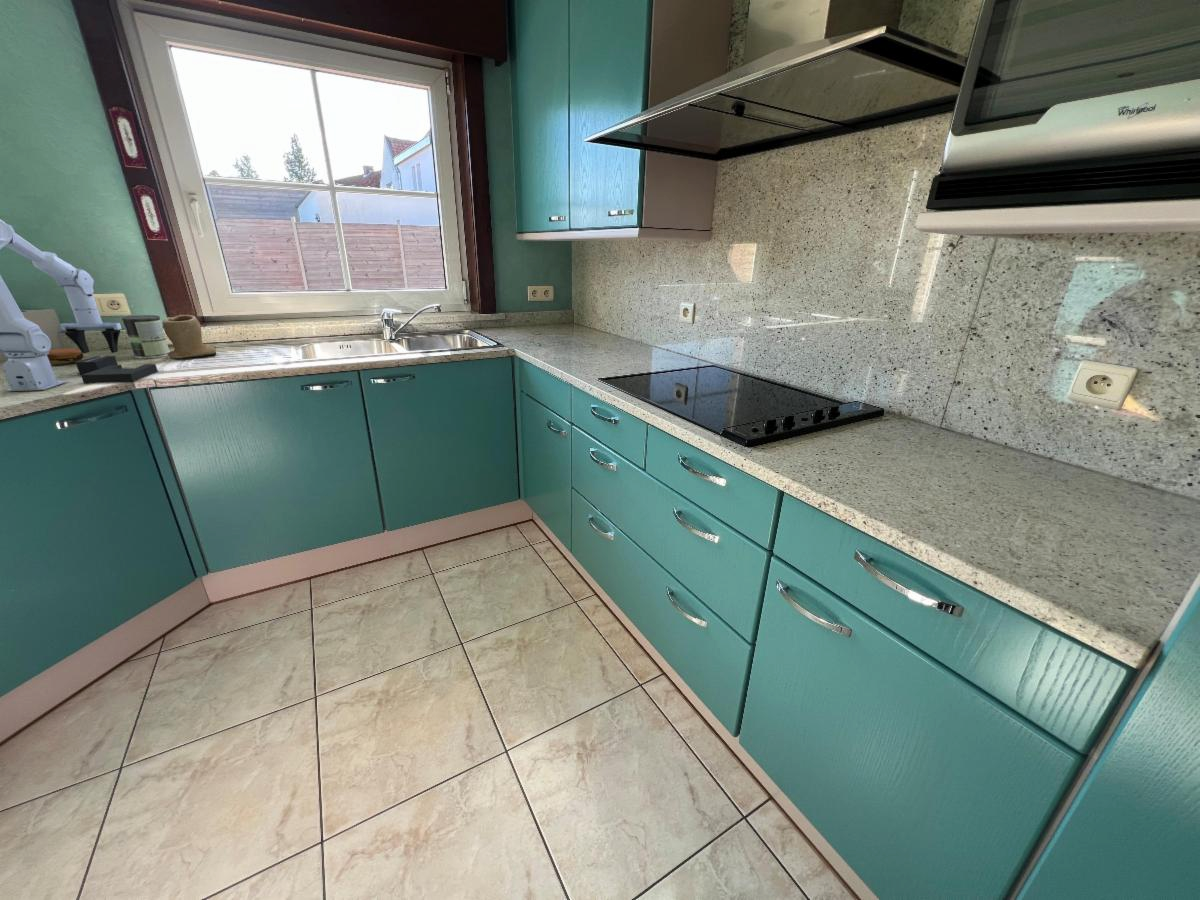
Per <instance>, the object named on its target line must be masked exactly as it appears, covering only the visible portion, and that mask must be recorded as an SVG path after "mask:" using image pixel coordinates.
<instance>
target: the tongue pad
mask: <svg viewBox="0 0 1200 900" xmlns="http://www.w3.org/2000/svg"><path fill="white" fill-rule="evenodd" d="M75 365H76V367H77V370H78V374H79V376H81V375H83V374H86V373H89V372H92V371H95V370H98V369H101V368H104V367H107V366H109V365H119V364H118V362H117V359H116V356H115V355H96V356H92V357H89V358H86V359H83V360H82V361H79V362H76V363H75Z"/></svg>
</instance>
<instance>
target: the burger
mask: <svg viewBox="0 0 1200 900" xmlns="http://www.w3.org/2000/svg"><path fill="white" fill-rule="evenodd" d="M47 357H48V359H49V362H50V364H51V366H63V365H69V364H76V362H79V361H82V360H84V358H86V356H84V353H82V351H81V350H80V349H79V348H75V347H72V348H55V349H50V351H49V354H47Z"/></svg>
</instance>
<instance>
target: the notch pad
mask: <svg viewBox="0 0 1200 900" xmlns="http://www.w3.org/2000/svg"><path fill="white" fill-rule="evenodd" d="M158 372H159V371H158V368H157V364H156V363H146V364H142V365H139V366H137V367H136V366H135V367H129V368H126V367H125V368H123V366H122V364H118V365H109V366H107V367H104V368H101V369H98V370H95V371H92V372H89V373H86V374H83V375H80V377H81V379H82V382H83V384H104V383H106V384H108V383H133V382H135V381H138V380H141V379H143V378H145V377H148V376H150V375H153V374H155V373H158Z"/></svg>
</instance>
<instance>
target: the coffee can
mask: <svg viewBox="0 0 1200 900" xmlns="http://www.w3.org/2000/svg"><path fill="white" fill-rule="evenodd" d="M121 321H122V323H123V325H124V329H125V332H126V334H127V336H128V341H129V343H130V347H131V348H132V353H133V356H134V358H135V359H142V360H144V359H146V360H147V359H158V358H166V357H169V356H168V355H167V354H168V353H169V352H171V351H170V347H169V344H168V341H167V336H166V333H165V331H164V328H163V324H162V321H161V316H160V315H155V314H154V315H153V314H143V315H141V314H140V315H129V316H123V317H121Z"/></svg>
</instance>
